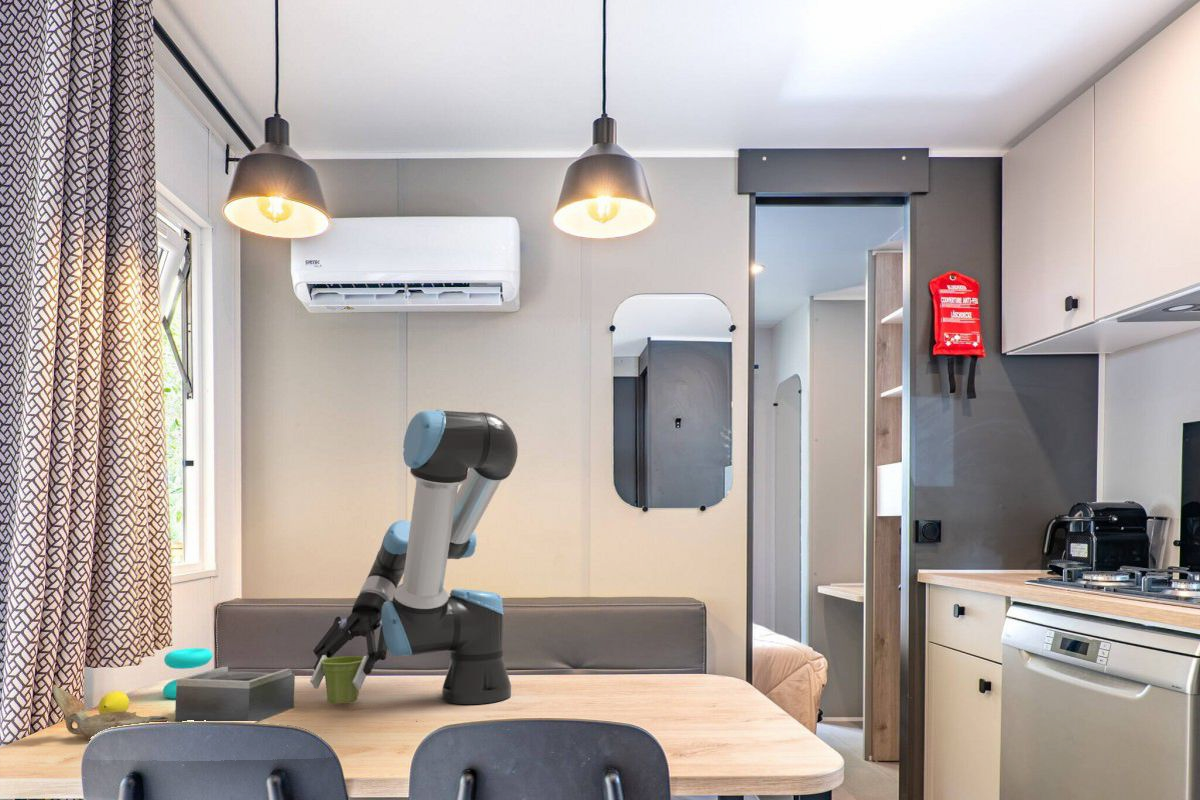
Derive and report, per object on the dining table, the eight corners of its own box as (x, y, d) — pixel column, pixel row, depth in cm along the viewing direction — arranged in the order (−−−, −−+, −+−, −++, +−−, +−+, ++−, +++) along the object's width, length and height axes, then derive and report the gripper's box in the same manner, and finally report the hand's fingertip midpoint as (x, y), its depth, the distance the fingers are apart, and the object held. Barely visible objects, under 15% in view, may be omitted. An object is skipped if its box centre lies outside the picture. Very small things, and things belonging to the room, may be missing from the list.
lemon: (108, 717, 174) (111, 690, 175) (134, 716, 174) (137, 689, 175) (89, 721, 167) (92, 692, 168) (116, 720, 167) (119, 692, 168)
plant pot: (346, 694, 185) (347, 654, 186) (374, 699, 179) (374, 657, 180) (310, 703, 177) (311, 661, 178) (338, 708, 172) (339, 664, 173)
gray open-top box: (293, 707, 177) (294, 667, 178) (248, 725, 162) (249, 682, 163) (213, 703, 182) (215, 665, 183) (162, 721, 167) (164, 679, 168)
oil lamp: (62, 733, 160) (65, 680, 161) (178, 728, 162) (180, 675, 163) (36, 746, 151) (40, 689, 152) (158, 740, 153) (161, 684, 155)
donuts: (157, 651, 192) (201, 645, 199) (155, 696, 190) (199, 688, 198) (175, 656, 185) (219, 649, 193) (173, 702, 184) (218, 694, 191)
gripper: (422, 611, 193) (388, 697, 175) (337, 610, 198) (296, 694, 180) (411, 590, 188) (375, 676, 171) (325, 590, 193) (282, 673, 176)
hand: (335, 685), depth 176 cm, fingers closed on plant pot, 9 cm apart
